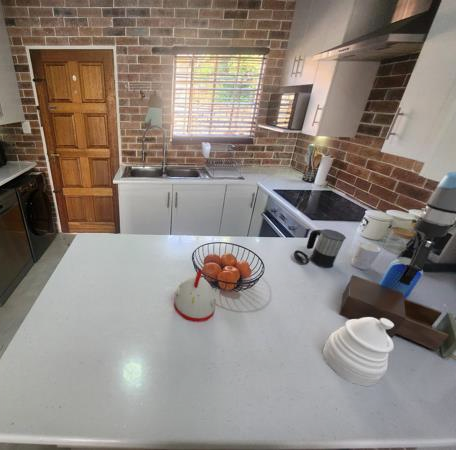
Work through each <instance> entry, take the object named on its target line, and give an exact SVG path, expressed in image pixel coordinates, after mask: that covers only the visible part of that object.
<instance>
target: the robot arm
mask: <svg viewBox="0 0 456 450" xmlns="http://www.w3.org/2000/svg"><path fill="white" fill-rule="evenodd" d="M420 210H421V211H422V212H421V214H420V217H418V219H417V220H416V222H415V223H414V225H413V228H414V230H416V231H415V233H414V234H413V235H412V236H411V237H410V239H409V240H408V241H407V243H406V244H405V249H404V251H402V254H401V255H400V257H405V258H410V259H411V262H410V264H409V265H408V264H407V265H406V269H405V270H404V272H403V274H402V275H401V277H400V278H399V280H398V282H400V283H403V284H406V285H409V284H410V283H411V281H412V280H413V278H414V277H415V275H416V273H417V272H418V271H422V270H423V268H424V266H425V264H426V262H427V260H428V258H429V256H430V253H431V251H432V249H433V247H434V246H435V245H436V242H435V239H434V238H436V237H438V238H442V237H446V235H447V234H448V232H449V231H450V230H451V228H452V226H451V225H454V224H455V223H456V171H450V172H447V173H445V174H444V175H443V177H442V178H441V180H440V181H439V183H438V184H437V185H436V187H435V190H434V191H433V192H432V194H431V196H430V198H429V200H428V201H427V203H426V205H425V207H422V208H421V209H420ZM415 265H416V266H415Z"/></svg>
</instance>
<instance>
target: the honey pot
mask: <svg viewBox="0 0 456 450" xmlns="http://www.w3.org/2000/svg"><path fill="white" fill-rule="evenodd" d="M393 326H394V324H393V323H392V322H391V321H390V320H388V319H385V318H381V319H380V321H379V320H378V319H376V318H373V317H365V318H360V319H348V320H347V321H346V322H345V323H344V325H343V326H341V327H339V328H338V329H337V330H335V331H333V332H332V333H331V334H330V335H329V337H328V338H327V341H326V342H325V344H324V347H322V348H323V349H322V354H323V358H324V360H325V361H326V363H327V364H328V365H329V367H330V368H331V369H332V370H333V371H334V372H335V373H336V374H337V375H338V376H340V377H341V378H343V379H344V380H346V381H348V382H350V383H352V384H354V385H356V386H357V385H358V386H361V387H367V388H369V387H373V386H375V385H377V384H378V383H379V381H380V380H382V378H383V376H384V375H385V373H386V372H387V369H388V367H389V365H388V361H389V359H388V358H389V356H390V354H389V353H391V352H392V351H393V350H394V348H395V346H394V345H395V344H394V342H393V340H392V338H391V337H389V336H388V334H387V333H386V331H385V329H391V328H392V327H393Z"/></svg>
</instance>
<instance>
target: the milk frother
mask: <svg viewBox="0 0 456 450" xmlns="http://www.w3.org/2000/svg"><path fill="white" fill-rule="evenodd" d="M317 237H318V239H317ZM346 238H347V237H346V235H344V234H343V233H341V232H339V231H336V230H334V229H329V228H325V229H324V228H323V229H314V230H312V231H311V232H310V233H309V236H308V239H307V244H306V249H308V250H312V249H313V251H312V254H311V256H309V255H307V253H305V252H304V251H302V250H300V249H296V250H294V252H293V257H294V259H295V261H296V262H297V263H299V264H301V265H309V263H310V261H311V262H312V263H313V264H314V265H316V266H318V267H320V268H326V269H331V268H333V267H334V263H335V261H336V258H337V256H338V254H339V252H340V250H341V247H342V245H343V243H344V241H345V240H347V239H346ZM316 241H317V242H316ZM315 243H316V244H315ZM301 255H302V256H303V257H304V258H303V257H302V256H301ZM305 260H306V261H305Z"/></svg>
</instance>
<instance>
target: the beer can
mask: <svg viewBox="0 0 456 450" xmlns="http://www.w3.org/2000/svg"><path fill="white" fill-rule="evenodd" d="M410 262H411V259H410V258H405V257H401V256H399V257H398V258H397V259H394V260H392V261H391V262H390V264H389V266H388V268H387V269H386V271H385V273H384V275H383V276H382V278H381V280H380V282H379V283H378V284H380V285H382V286H385V287H388V288H391V289H394V290H397V291H399V292H402V293H403V296H404V298H405V299H408V297H409V296H410V295H411V293H412V291H413V290H414V288H415V287H416V286H417V284H418V282H419V281H420V280H421V278H422V276H423V275H424V270H423V269H422V271H418V272H417V273H416V275H415V277H414V278H413V280H412V281H411V283H410V284H409V285H406V284H403V283H400V282H398V280H399V278H400V277H401V275H402V274H403V272H404V270H405V269H406V265H407V264H408V265H409V264H410ZM415 266H416V265H415Z"/></svg>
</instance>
